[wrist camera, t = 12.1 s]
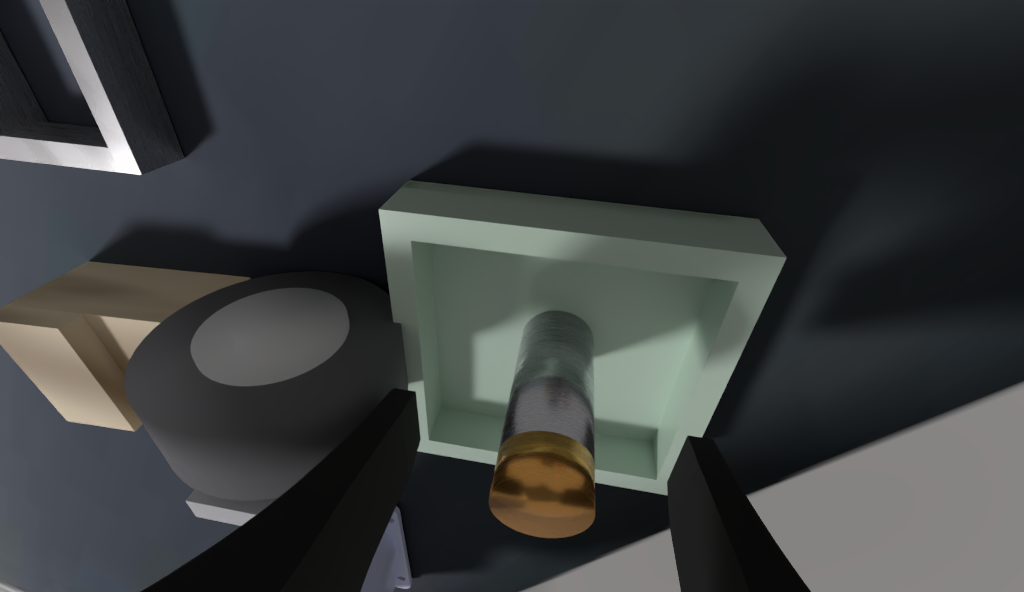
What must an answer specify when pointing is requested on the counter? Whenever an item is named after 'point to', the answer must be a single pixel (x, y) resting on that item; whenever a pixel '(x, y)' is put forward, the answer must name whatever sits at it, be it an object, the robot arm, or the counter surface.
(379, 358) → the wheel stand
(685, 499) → the robot arm
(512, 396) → the pin
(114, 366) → the block
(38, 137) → the pin socket
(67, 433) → the counter surface
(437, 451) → the tray
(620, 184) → the counter surface
